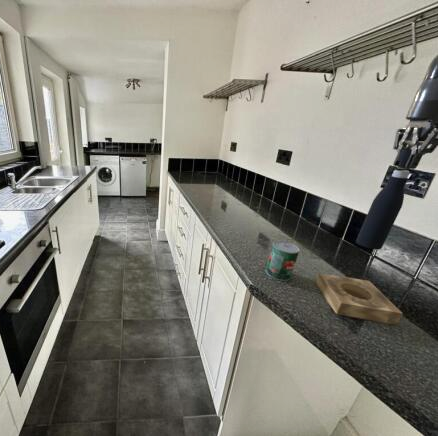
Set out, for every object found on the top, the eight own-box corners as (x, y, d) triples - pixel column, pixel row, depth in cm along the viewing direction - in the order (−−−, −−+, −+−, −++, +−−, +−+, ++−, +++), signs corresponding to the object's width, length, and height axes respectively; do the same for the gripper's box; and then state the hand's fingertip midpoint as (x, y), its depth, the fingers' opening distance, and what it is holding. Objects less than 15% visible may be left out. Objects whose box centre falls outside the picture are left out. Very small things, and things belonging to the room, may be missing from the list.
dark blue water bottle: (386, 251, 72) (435, 151, 60) (360, 247, 74) (404, 149, 62) (375, 242, 77) (419, 149, 66) (352, 238, 79) (390, 147, 68)
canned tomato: (290, 284, 76) (300, 255, 72) (264, 276, 79) (272, 248, 75) (290, 271, 82) (299, 244, 78) (266, 265, 86) (273, 238, 82)
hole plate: (364, 290, 74) (369, 280, 72) (396, 324, 61) (403, 313, 60) (315, 283, 77) (319, 273, 75) (336, 314, 64) (341, 302, 63)
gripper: (482, 97, 52) (442, 173, 59) (428, 102, 65) (400, 164, 71) (441, 96, 54) (406, 170, 60) (396, 102, 66) (372, 162, 73)
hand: (403, 166), depth 66 cm, fingers closed on dark blue water bottle, 4 cm apart
